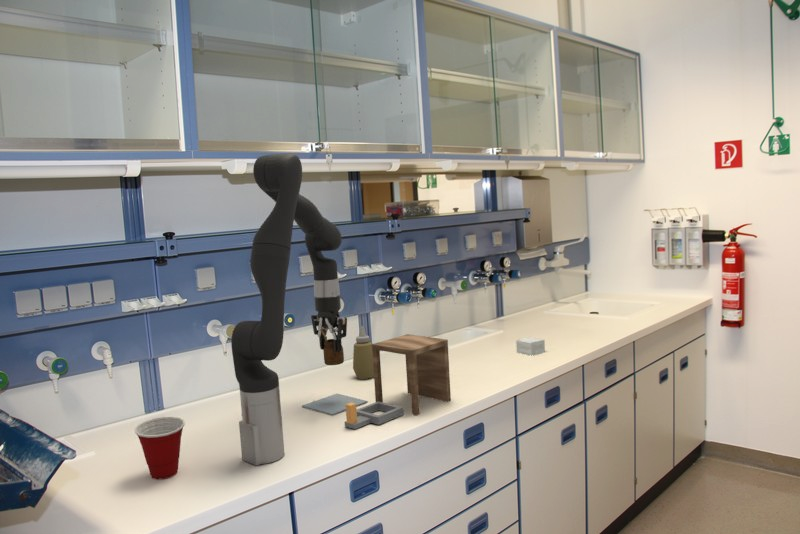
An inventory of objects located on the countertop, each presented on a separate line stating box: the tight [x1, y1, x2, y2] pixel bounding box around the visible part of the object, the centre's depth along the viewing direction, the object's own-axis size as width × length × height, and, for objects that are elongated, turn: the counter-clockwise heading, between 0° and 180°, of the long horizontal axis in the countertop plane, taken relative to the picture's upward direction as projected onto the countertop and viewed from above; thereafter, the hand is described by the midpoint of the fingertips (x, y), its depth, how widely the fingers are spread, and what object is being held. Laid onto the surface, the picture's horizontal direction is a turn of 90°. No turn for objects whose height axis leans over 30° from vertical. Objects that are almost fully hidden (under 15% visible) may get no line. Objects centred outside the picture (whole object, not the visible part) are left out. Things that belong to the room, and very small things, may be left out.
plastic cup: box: [134, 416, 186, 480], centre depth 143 cm, size 11×11×12 cm
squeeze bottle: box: [352, 325, 374, 380], centre depth 215 cm, size 8×8×18 cm
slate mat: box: [301, 393, 369, 417], centre depth 187 cm, size 14×14×1 cm
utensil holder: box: [321, 328, 345, 366], centre depth 186 cm, size 6×6×12 cm
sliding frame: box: [344, 401, 405, 430], centre depth 171 cm, size 16×10×6 cm, turn 137°
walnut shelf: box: [372, 333, 452, 416], centre depth 183 cm, size 16×16×18 cm
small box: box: [515, 336, 546, 356], centre depth 237 cm, size 8×8×5 cm
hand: (330, 350), depth 185 cm, fingers closed on utensil holder, 5 cm apart
